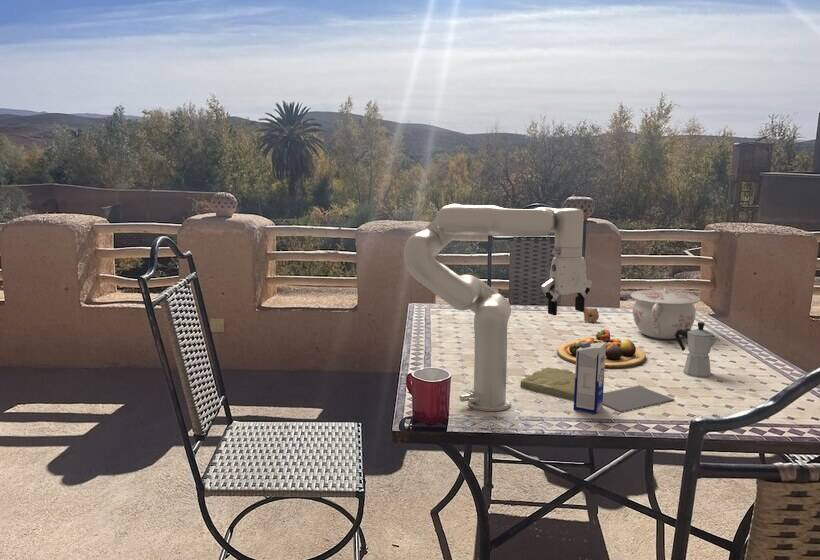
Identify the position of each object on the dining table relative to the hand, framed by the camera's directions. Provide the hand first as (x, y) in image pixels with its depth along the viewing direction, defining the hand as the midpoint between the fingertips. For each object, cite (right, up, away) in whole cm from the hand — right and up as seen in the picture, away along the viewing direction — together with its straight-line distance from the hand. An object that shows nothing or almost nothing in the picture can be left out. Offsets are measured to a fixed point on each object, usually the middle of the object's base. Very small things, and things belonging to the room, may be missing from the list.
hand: (566, 312), depth 190 cm
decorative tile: (+5, -26, +27) cm, 37 cm away
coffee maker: (+54, -23, +41) cm, 71 cm away
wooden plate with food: (+27, -20, +61) cm, 70 cm away
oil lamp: (+36, -10, +113) cm, 119 cm away
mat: (+23, -27, +15) cm, 39 cm away
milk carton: (+8, -29, +7) cm, 31 cm away
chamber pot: (+61, -14, +90) cm, 110 cm away
